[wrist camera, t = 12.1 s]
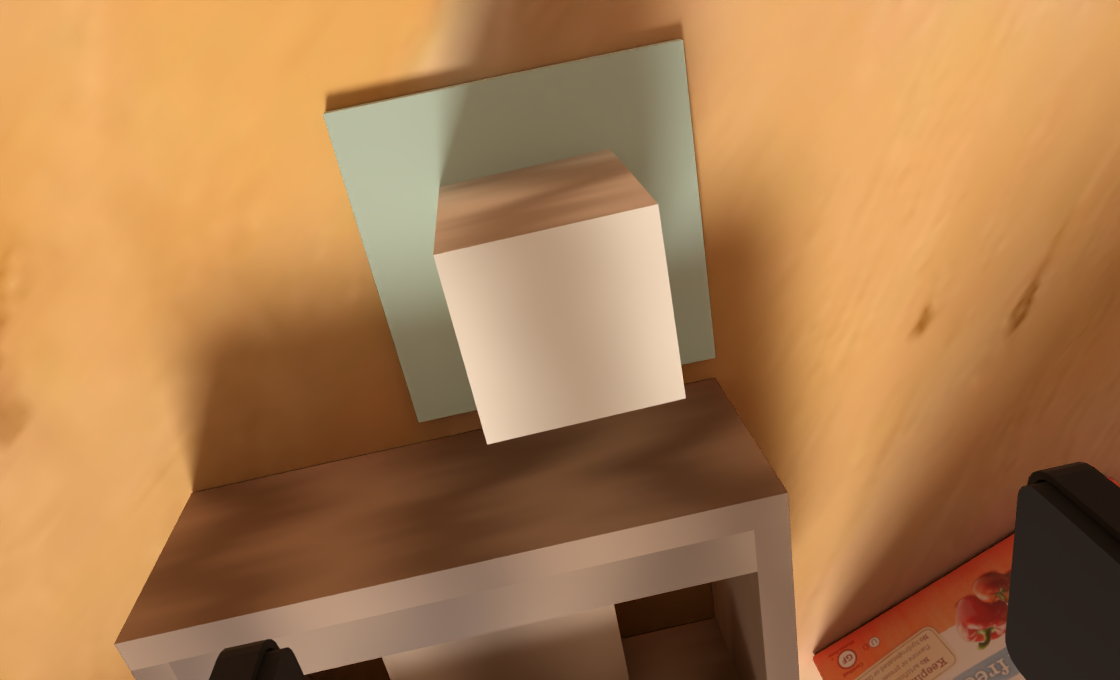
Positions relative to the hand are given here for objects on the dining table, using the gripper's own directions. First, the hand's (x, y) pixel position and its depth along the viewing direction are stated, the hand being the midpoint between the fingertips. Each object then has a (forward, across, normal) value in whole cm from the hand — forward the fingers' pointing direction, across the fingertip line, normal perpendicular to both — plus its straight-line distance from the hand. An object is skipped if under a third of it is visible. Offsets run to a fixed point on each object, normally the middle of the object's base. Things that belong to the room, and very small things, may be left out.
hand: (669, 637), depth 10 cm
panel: (+15, 0, 0) cm, 15 cm away
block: (+15, 0, 0) cm, 15 cm away
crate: (+16, +4, +12) cm, 20 cm away
